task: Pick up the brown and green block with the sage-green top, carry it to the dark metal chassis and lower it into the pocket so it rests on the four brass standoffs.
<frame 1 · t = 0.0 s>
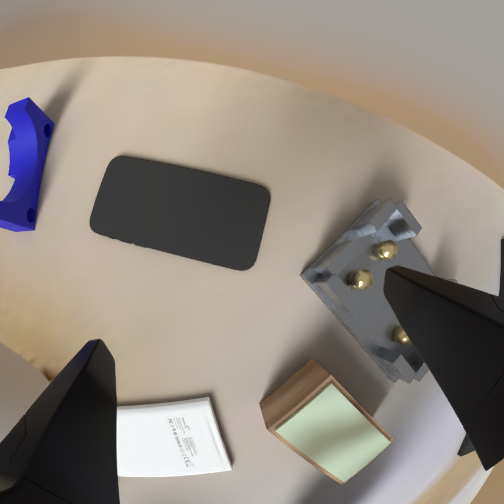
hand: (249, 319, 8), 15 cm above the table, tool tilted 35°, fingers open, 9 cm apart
chassis: (386, 293, 24), on the table
external hard drive: (158, 437, 21), on the table
brown and green block: (319, 413, 22), on the table
phone: (176, 210, 24), on the table
blue u-shaped cradle: (29, 176, 22), on the table
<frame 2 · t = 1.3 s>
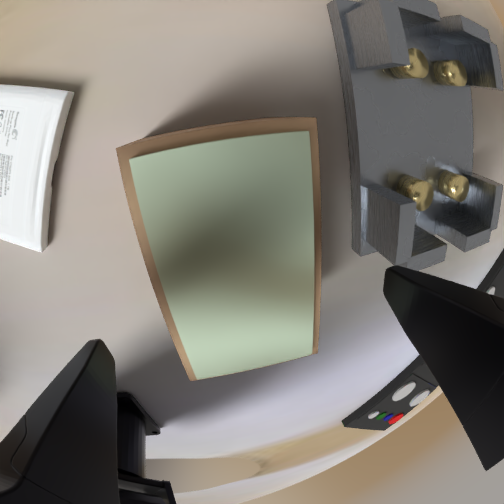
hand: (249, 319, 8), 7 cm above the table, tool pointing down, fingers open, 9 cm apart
chassis: (416, 125, 13), on the table
remote control: (451, 338, 26), on the table
brown and green block: (223, 225, 14), on the table
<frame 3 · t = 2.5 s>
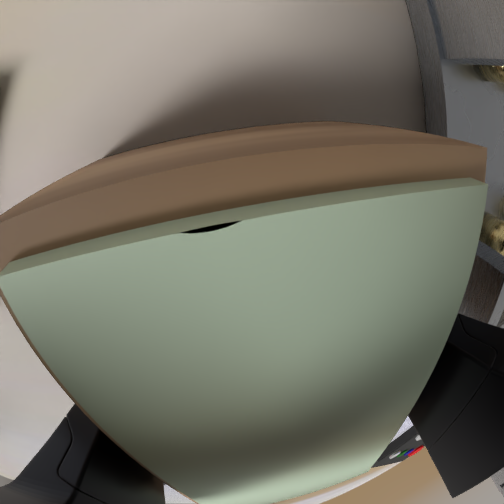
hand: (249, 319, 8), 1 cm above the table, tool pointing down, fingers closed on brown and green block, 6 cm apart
chassis: (493, 144, 8), on the table
remote control: (478, 370, 21), on the table
brown and green block: (243, 299, 9), on the table, touching gripper
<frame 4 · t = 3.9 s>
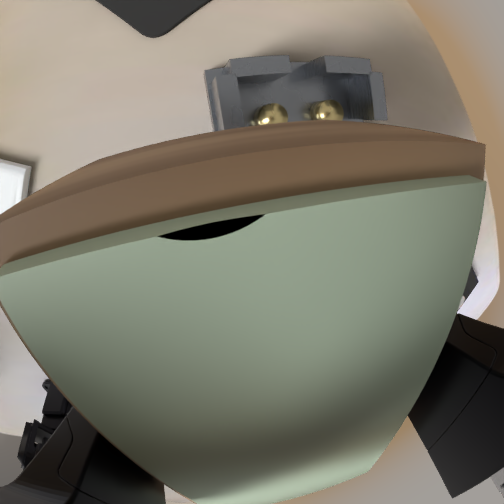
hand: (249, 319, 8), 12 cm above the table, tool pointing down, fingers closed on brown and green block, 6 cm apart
chassis: (295, 166, 18), on the table
brown and green block: (241, 299, 9), point 11 cm above the table, touching gripper
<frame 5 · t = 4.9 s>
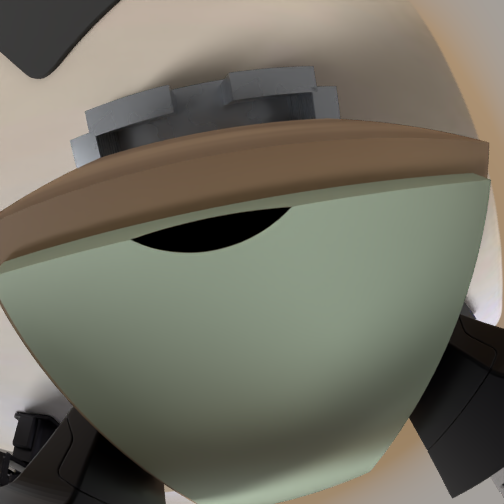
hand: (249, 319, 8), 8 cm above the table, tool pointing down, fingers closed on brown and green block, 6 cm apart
chassis: (223, 223, 14), on the table
brown and green block: (243, 298, 9), point 7 cm above the table, touching gripper
when the fingers open (5 cm above the table, at t = 5.8 s): brown and green block drops 1 cm, resting on chassis.
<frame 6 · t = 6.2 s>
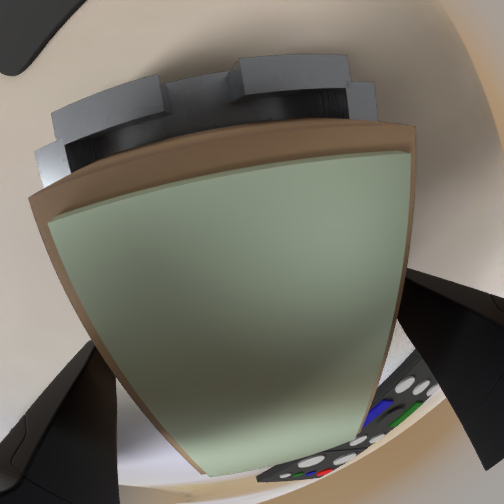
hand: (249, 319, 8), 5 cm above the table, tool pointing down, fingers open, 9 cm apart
chassis: (228, 245, 12), on the table
remote control: (371, 412, 25), on the table
brown and green block: (235, 274, 10), point 2 cm above the table, touching chassis
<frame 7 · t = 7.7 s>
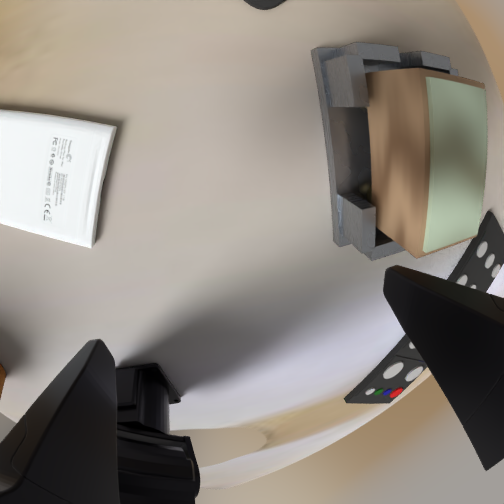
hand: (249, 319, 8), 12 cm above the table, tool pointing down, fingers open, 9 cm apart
chassis: (385, 142, 18), on the table
remote control: (434, 320, 31), on the table
external hard drive: (33, 169, 15), on the table
brown and green block: (405, 148, 16), point 2 cm above the table, touching chassis
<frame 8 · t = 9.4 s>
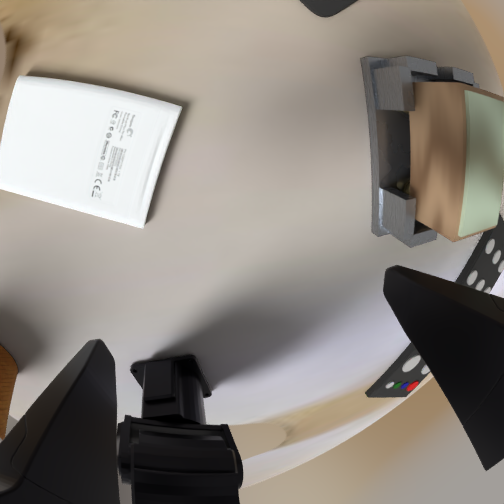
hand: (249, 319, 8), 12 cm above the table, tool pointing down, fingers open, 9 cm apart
chassis: (416, 144, 19), on the table
remote control: (447, 315, 32), on the table
external hard drive: (80, 144, 15), on the table
brown and green block: (436, 149, 17), point 2 cm above the table, touching chassis
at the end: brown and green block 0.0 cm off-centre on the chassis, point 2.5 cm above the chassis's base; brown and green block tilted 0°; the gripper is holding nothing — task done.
